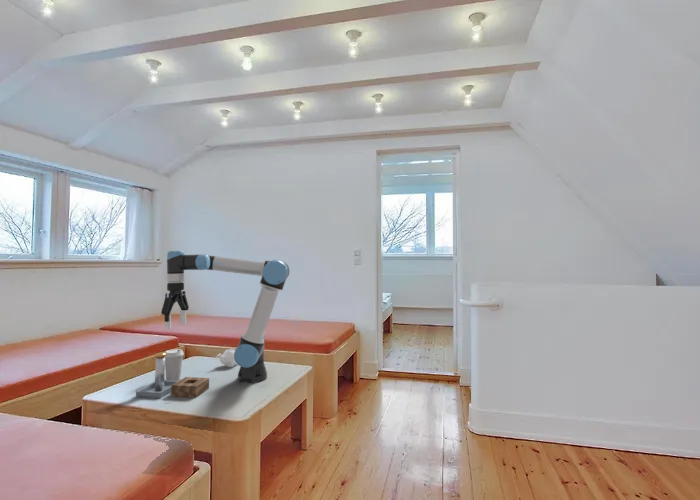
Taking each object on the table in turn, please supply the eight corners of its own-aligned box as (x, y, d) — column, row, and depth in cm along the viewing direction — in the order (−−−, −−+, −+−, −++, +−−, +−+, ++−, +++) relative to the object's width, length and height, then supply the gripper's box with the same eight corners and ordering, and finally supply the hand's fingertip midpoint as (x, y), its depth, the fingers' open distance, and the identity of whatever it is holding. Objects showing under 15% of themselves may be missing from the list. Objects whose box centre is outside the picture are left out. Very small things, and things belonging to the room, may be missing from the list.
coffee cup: (175, 384, 182) (175, 353, 183) (158, 382, 184) (159, 352, 185) (187, 378, 192) (188, 349, 192) (171, 376, 194) (172, 348, 194)
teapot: (210, 367, 211) (211, 351, 211) (240, 360, 226) (241, 345, 226) (219, 371, 204) (219, 354, 205) (249, 363, 220) (250, 348, 220)
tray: (180, 386, 179) (181, 381, 179) (160, 398, 163) (160, 392, 163) (158, 385, 180) (158, 380, 181) (135, 397, 165) (136, 391, 165)
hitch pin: (167, 388, 174) (168, 352, 175) (161, 392, 169) (162, 355, 170) (157, 388, 175) (158, 352, 175) (151, 391, 170) (152, 354, 170)
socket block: (208, 388, 177) (209, 378, 177) (196, 397, 165) (196, 386, 165) (185, 387, 178) (185, 376, 178) (171, 396, 166) (171, 385, 166)
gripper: (181, 280, 191) (181, 321, 190) (152, 284, 166) (152, 330, 166) (195, 280, 190) (195, 321, 190) (168, 283, 166) (168, 330, 165)
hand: (175, 325), depth 178 cm, fingers open, 13 cm apart
